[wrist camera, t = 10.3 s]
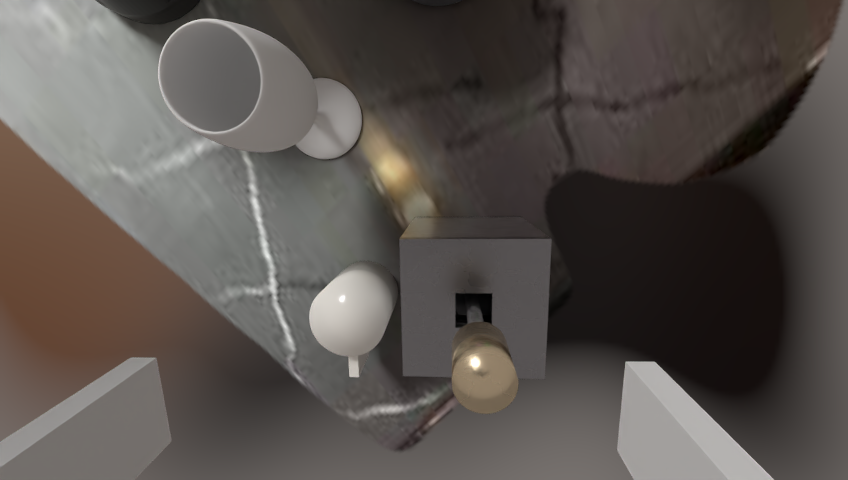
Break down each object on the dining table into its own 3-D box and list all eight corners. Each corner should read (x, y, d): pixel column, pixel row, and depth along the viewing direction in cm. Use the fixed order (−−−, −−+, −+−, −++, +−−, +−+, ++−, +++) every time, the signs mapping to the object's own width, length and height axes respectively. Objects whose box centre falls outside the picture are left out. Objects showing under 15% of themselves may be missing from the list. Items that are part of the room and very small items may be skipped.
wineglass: (338, 63, 42) (232, -33, 22) (375, 137, 44) (308, 111, 23) (271, 102, 44) (111, 45, 23) (309, 172, 45) (189, 178, 24)
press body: (416, 315, 47) (402, 376, 34) (414, 217, 45) (399, 239, 31) (517, 317, 46) (545, 379, 33) (520, 216, 44) (551, 238, 31)
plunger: (426, 310, 45) (401, 456, 23) (425, 230, 43) (397, 301, 21) (508, 311, 45) (568, 463, 22) (511, 230, 43) (578, 302, 20)
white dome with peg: (338, 344, 49) (313, 383, 40) (334, 260, 47) (306, 282, 38) (399, 345, 48) (387, 385, 39) (397, 260, 46) (384, 283, 37)
